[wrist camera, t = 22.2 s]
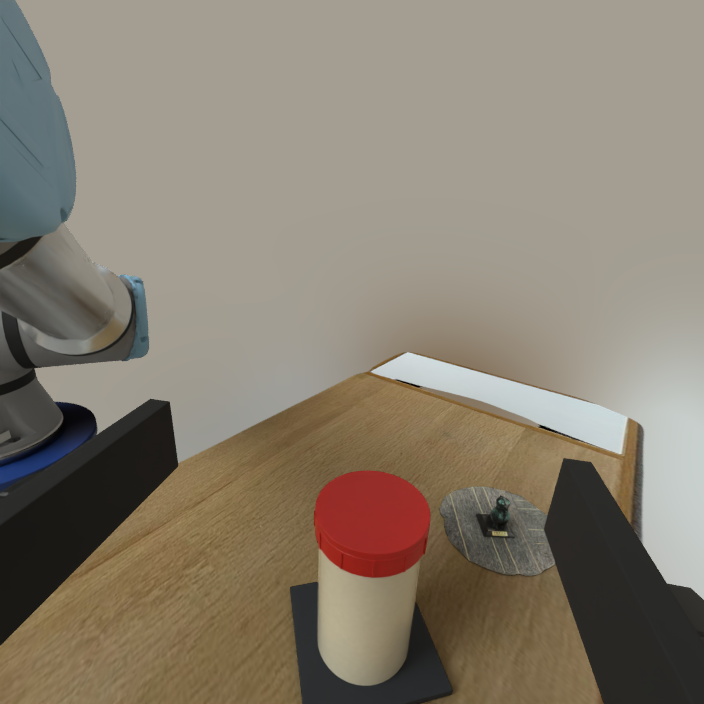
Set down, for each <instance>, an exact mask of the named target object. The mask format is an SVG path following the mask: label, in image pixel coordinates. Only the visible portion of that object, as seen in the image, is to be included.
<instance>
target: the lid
mask: <svg viewBox="0 0 704 704" xmlns="http://www.w3.org/2000/svg"><path fill="white" fill-rule="evenodd" d="M314 526H315V534H316V539H317V543H318V545H319V549H321V550H322V552H323V553H324V555H325V556H326V557H327V558H328V559H329V560H330V561H331V562H332V563H333V564H335V565H336V566H338V567H339V568H340V569H343V570H345V571H347V572H349V573H351V574H355V575H358V576H363V577H370V578H382V577H390V576H393V575H397V574H400V573H402V572H406V570H408V569H409V568H411V567H412V566H413V565H415V564H416V563H417V562H418V560H419V559H420V558H421V557H422V555H423V554H425V550H426V545H427V540H428V533H429V526H430V509H429V506H428V503H427V501H426V499H425V498H424V496H423V495H422V494H421V493H420V491H419V490H418V489H417V488H415V487H414V486H413V485H412V484H410V483H409V482H407V481H406V480H404V479H402V478H400V477H397V476H395V475H392V474H389V473H385V472H379V471H356V472H351V473H347V474H344V475H341V476H339V477H337V478H335V479H333V480H332V481H330V482H329V483H328V484H327V485H326V486H325V487H324V488H323V489H322V491H321V492H320V494H319V496H318V498H317V501H316V508H315V511H314Z"/></svg>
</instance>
